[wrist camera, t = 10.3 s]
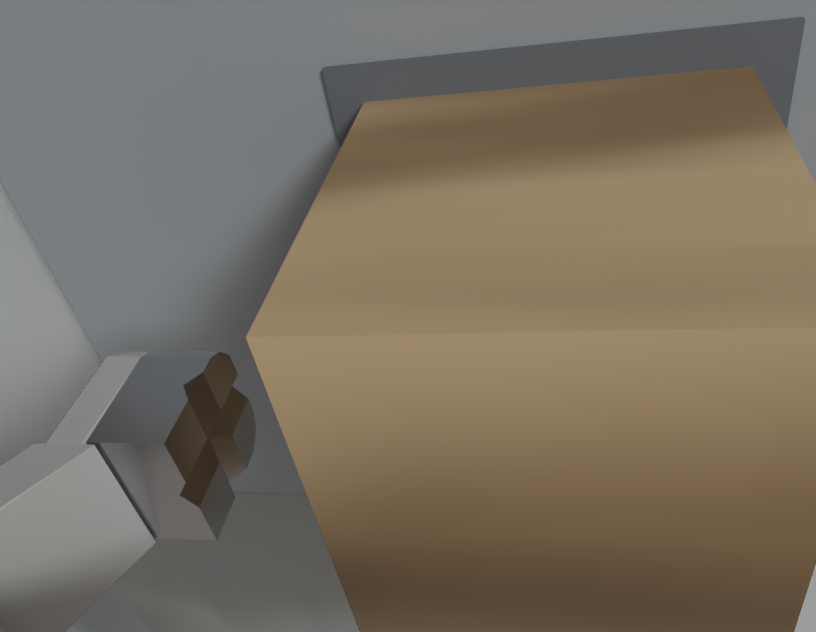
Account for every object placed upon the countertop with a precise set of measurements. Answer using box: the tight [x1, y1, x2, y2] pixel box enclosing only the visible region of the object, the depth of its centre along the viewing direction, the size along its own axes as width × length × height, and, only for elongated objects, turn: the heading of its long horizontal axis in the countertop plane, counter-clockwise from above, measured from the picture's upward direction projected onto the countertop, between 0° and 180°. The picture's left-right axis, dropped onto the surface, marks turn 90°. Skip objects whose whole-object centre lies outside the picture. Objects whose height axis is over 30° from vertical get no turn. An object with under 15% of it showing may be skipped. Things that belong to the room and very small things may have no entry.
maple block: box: [246, 66, 816, 632], centre depth 9 cm, size 5×5×5 cm
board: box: [0, 0, 816, 495], centre depth 12 cm, size 13×18×1 cm
